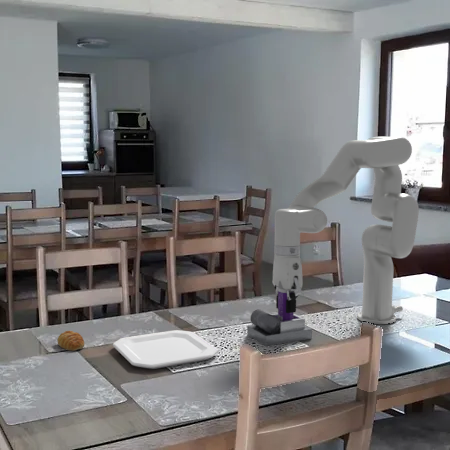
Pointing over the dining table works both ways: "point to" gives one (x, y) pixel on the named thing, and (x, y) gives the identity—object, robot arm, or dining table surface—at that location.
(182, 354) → the plate
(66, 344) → the pastry
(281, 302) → the container
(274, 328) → the block
